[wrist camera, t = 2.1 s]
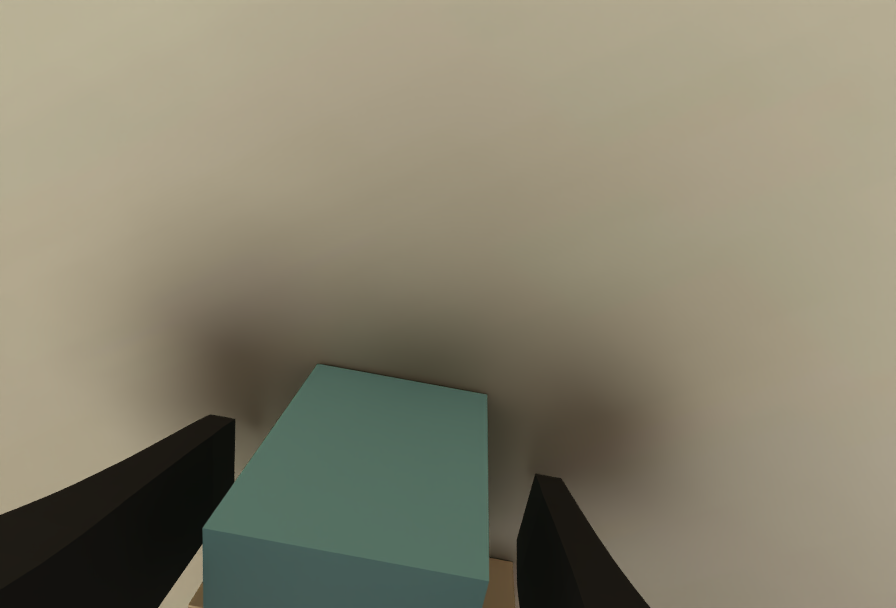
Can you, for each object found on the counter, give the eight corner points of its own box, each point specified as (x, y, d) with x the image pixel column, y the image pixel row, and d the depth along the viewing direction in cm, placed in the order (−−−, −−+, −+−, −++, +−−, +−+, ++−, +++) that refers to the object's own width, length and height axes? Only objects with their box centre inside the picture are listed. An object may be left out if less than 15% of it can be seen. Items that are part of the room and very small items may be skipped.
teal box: (487, 394, 13) (489, 588, 7) (454, 543, 14) (436, 786, 9) (317, 363, 13) (198, 534, 7) (304, 515, 14) (200, 742, 9)
